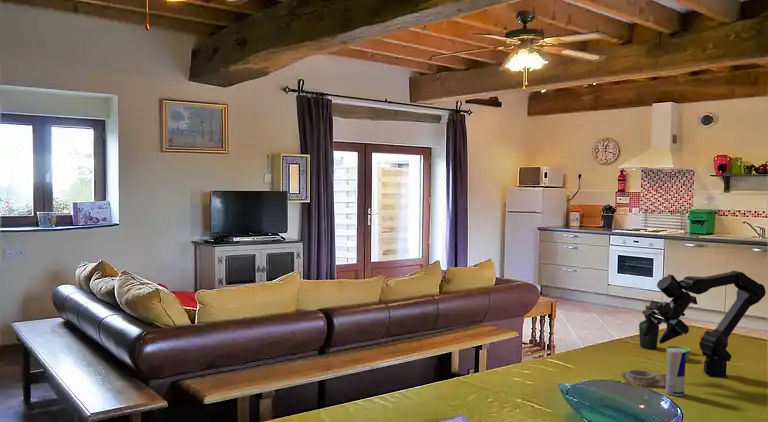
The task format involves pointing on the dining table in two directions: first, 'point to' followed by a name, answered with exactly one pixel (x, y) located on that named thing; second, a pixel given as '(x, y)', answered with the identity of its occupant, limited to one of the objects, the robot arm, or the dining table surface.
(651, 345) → the potion bottle
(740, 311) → the robot arm
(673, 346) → the ramekin
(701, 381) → the dining table surface
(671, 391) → the beverage can
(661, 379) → the board
